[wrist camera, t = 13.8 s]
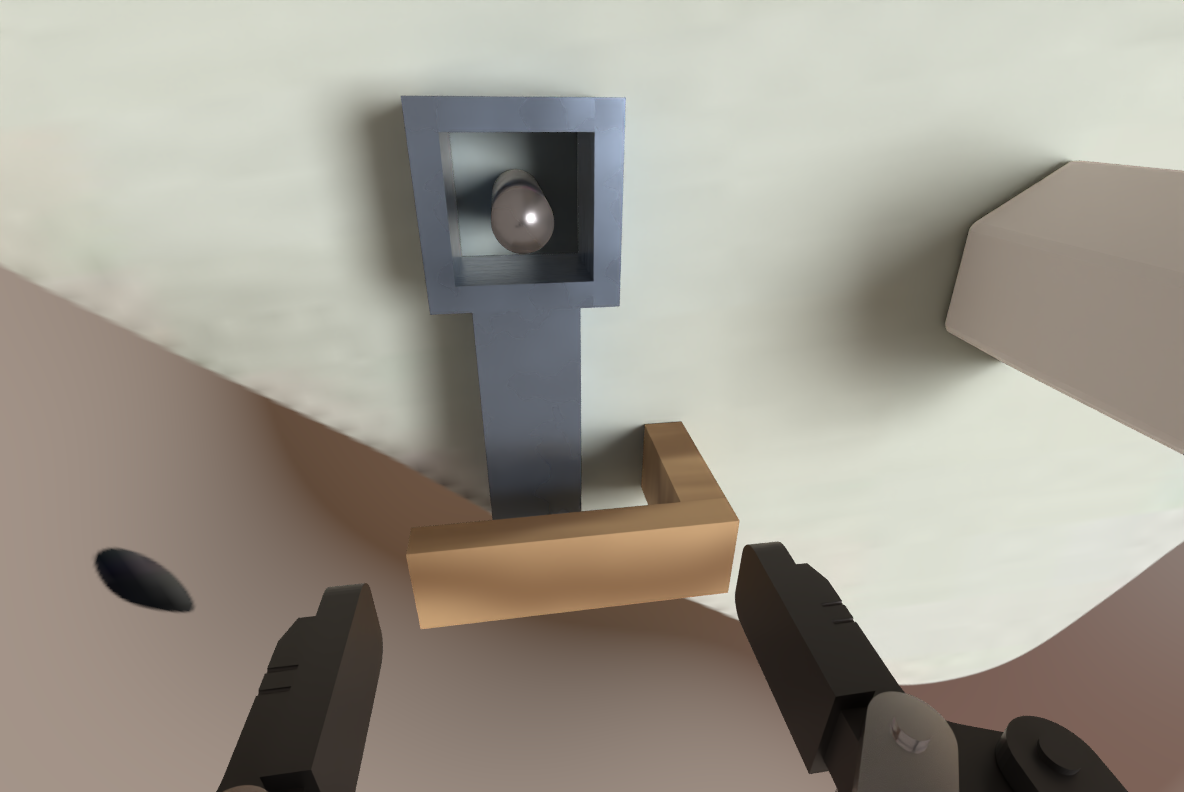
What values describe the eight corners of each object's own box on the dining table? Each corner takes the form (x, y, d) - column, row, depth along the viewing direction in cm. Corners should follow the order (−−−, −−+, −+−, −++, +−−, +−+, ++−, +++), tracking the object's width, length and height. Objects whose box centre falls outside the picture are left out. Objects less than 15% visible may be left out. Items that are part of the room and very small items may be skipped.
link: (418, 97, 21) (400, 95, 17) (602, 98, 22) (625, 97, 18) (468, 508, 30) (464, 569, 26) (597, 496, 31) (612, 554, 27)
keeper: (428, 440, 28) (406, 554, 21) (681, 421, 30) (739, 520, 23) (438, 504, 30) (421, 629, 23) (676, 483, 31) (727, 592, 24)
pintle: (490, 169, 22) (488, 189, 17) (540, 169, 23) (553, 188, 18) (493, 220, 23) (493, 254, 18) (541, 219, 24) (555, 253, 18)
